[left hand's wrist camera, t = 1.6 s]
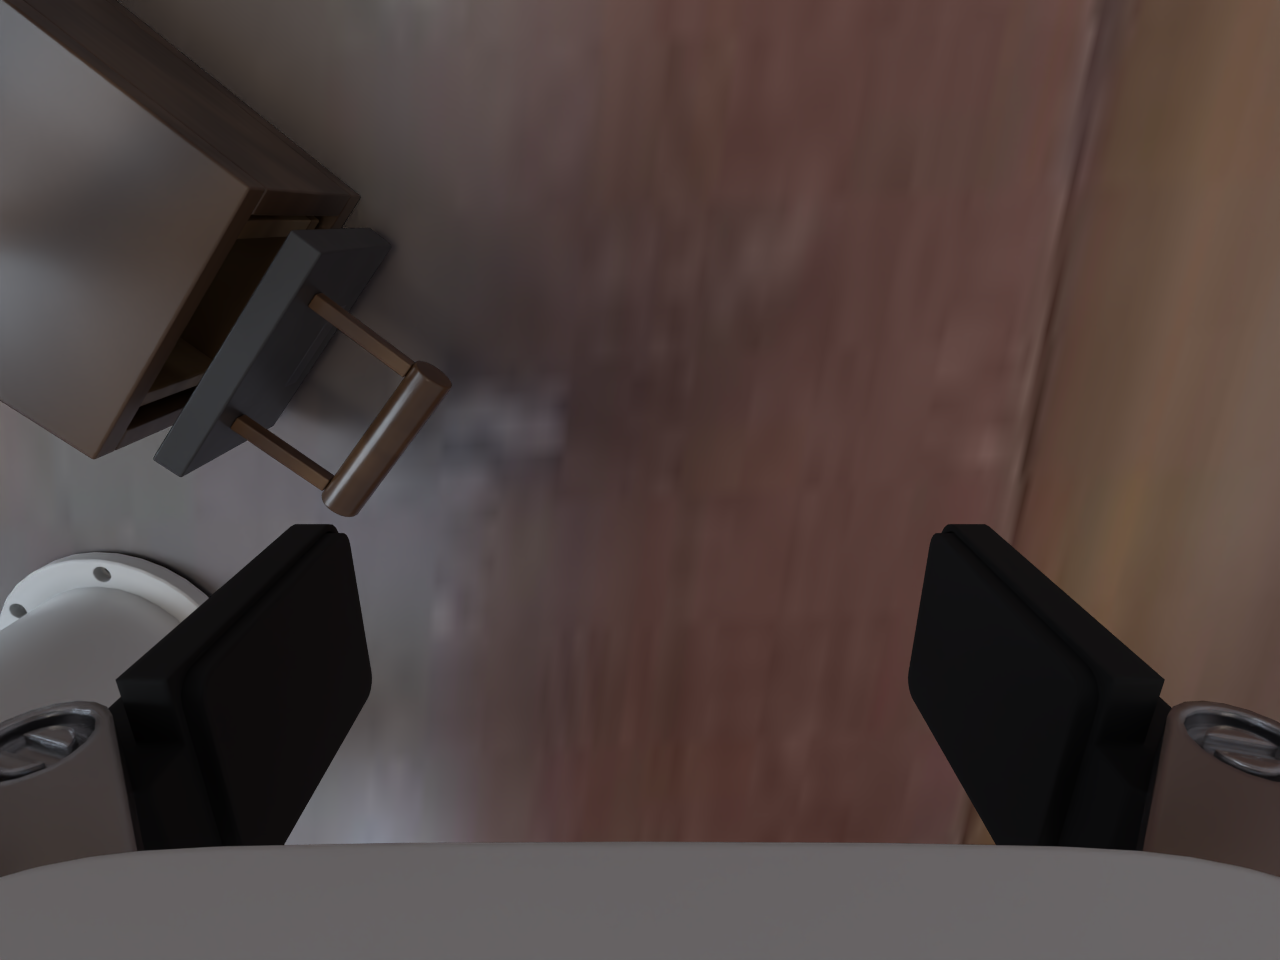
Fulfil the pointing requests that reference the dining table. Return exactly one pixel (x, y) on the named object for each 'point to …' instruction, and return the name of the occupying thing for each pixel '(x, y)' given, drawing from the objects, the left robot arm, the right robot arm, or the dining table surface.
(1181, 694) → the dining table surface
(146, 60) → the dark wooden block
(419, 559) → the dining table surface
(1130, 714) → the left robot arm
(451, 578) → the dining table surface
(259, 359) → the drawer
